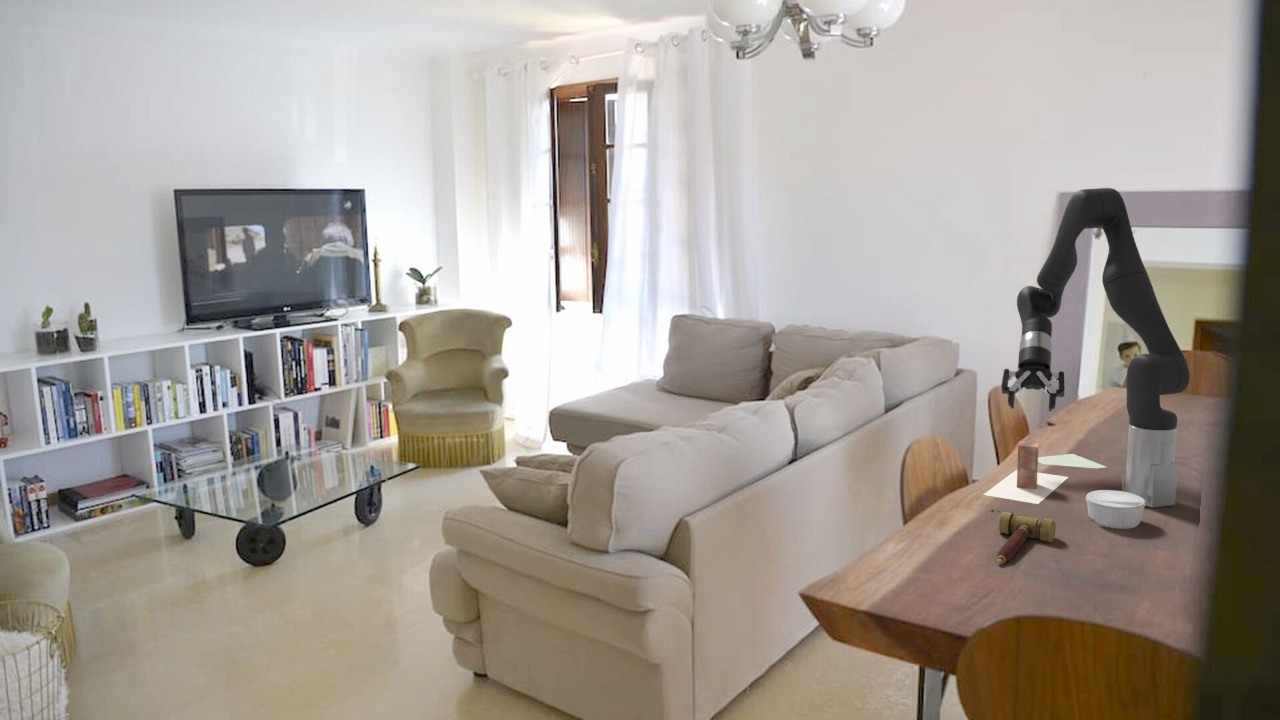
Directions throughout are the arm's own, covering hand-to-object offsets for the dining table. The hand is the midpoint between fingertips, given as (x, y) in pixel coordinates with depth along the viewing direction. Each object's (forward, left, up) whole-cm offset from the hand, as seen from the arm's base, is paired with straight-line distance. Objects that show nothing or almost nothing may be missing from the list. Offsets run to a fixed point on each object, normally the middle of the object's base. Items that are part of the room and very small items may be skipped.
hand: (1031, 408), depth 227 cm
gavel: (-41, +31, -18) cm, 54 cm away
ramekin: (-34, +3, -17) cm, 38 cm away
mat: (+5, -15, -17) cm, 23 cm away
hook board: (-10, +7, -17) cm, 21 cm away
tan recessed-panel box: (-10, +7, -16) cm, 20 cm away
